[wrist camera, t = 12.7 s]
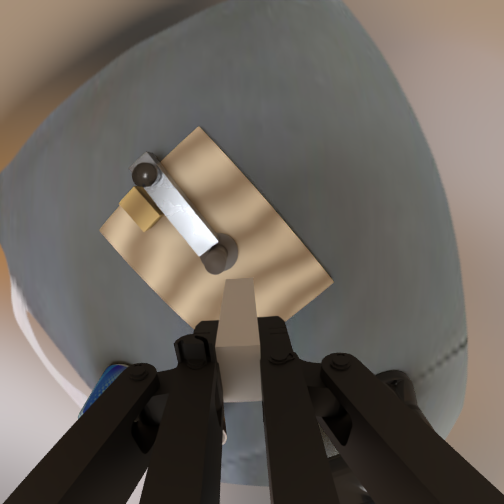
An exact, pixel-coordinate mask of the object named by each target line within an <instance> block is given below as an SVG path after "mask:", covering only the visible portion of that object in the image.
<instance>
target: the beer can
mask: <svg viewBox="0 0 504 504" xmlns="http://www.w3.org/2000/svg"><path fill="white" fill-rule="evenodd" d="M127 367H129V366H128V365H125V364H116V365H111V366H109V367H108V368H107V369H106V370H105V372H104V373H103V375H102V376H101V378H100V380H99V381H98V383H97V384H96V386H95V388H94V389H93V391H92V393H91V394H90V396H89V398H88V399H87V401H86V403H85V404H84V406H83V408H82V409H81V411H80V413H79V415H78V419H79V418H80V417H81V416H82V415H83V414H84V412H85V411H86V410H87V409H88V408H89V407H90V406H91V405H92V404H93V403H94V402H95V401H96V399H97V398H98V397H99V396H100V395H101V394H102V393H103V392H104V391H105V390H106V389H107V388H108V387H109V385H110V384H111V383H112V382H113V381H114V380H115V379H116V378H117V377H118V376H119V375H120V374H121V373H122V372H123V370H125V369H126V368H127Z"/></svg>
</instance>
